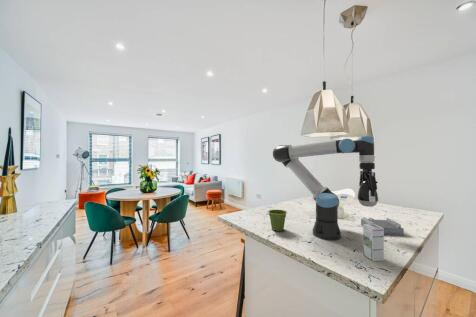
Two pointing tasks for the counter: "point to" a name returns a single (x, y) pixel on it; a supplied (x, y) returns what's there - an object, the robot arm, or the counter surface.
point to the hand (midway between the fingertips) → (367, 200)
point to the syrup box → (373, 242)
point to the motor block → (385, 226)
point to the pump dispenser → (366, 195)
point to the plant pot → (277, 219)
